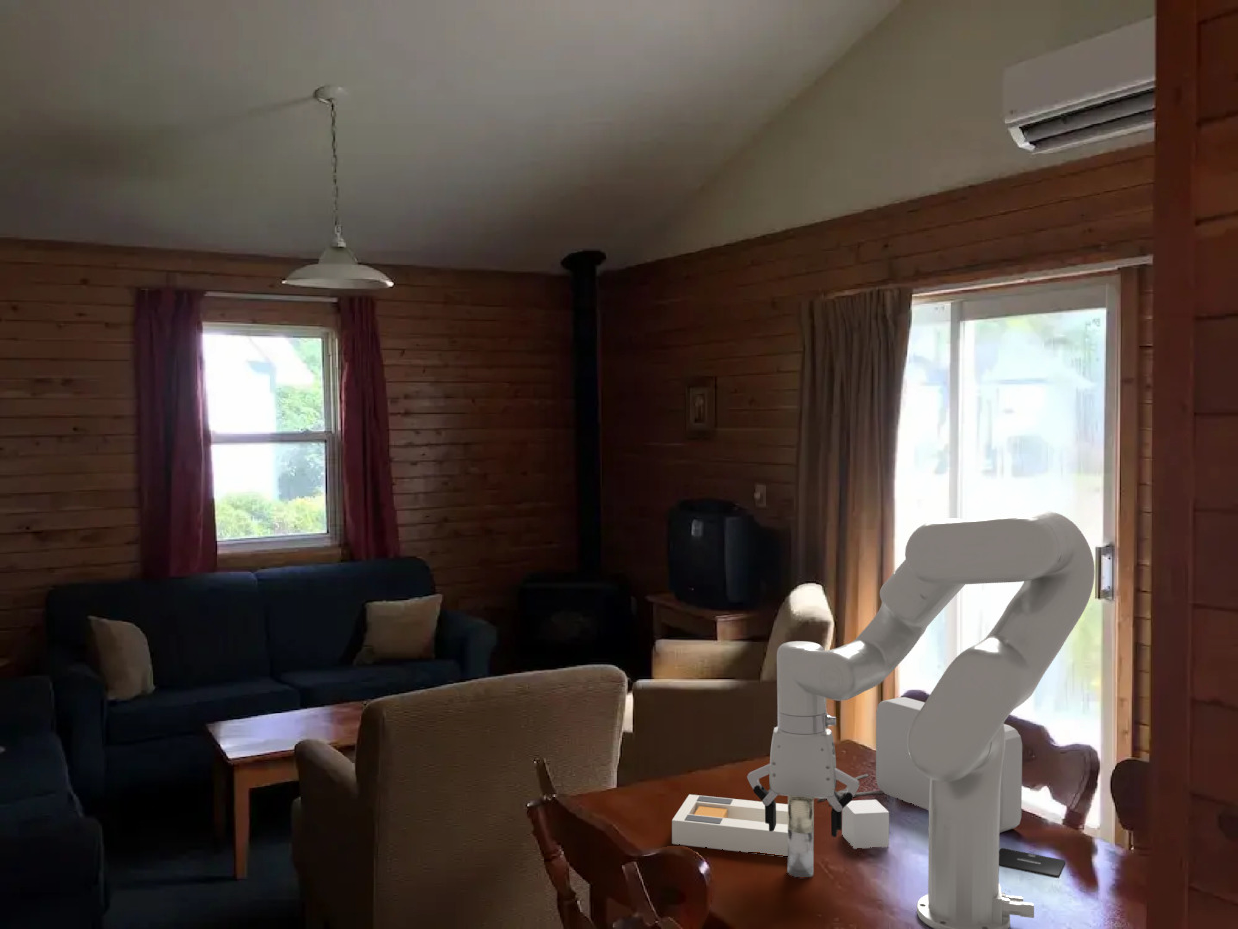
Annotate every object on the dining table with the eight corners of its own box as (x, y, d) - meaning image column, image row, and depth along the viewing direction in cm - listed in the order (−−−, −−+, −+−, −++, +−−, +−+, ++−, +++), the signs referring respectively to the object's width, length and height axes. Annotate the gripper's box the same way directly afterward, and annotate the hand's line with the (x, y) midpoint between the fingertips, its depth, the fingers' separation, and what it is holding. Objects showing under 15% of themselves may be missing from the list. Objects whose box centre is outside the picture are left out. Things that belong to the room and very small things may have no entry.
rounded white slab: (1030, 829, 183) (1031, 726, 182) (1002, 839, 178) (1003, 733, 178) (902, 783, 207) (903, 692, 206) (875, 790, 202) (875, 698, 202)
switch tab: (727, 822, 183) (727, 809, 183) (721, 834, 178) (721, 820, 178) (699, 819, 184) (699, 806, 184) (692, 830, 179) (692, 816, 179)
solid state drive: (1000, 851, 174) (1000, 847, 174) (1065, 864, 169) (1065, 860, 169) (991, 866, 168) (991, 862, 168) (1058, 880, 163) (1058, 876, 163)
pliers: (907, 782, 206) (863, 811, 190) (907, 786, 206) (863, 816, 190) (861, 772, 212) (815, 799, 196) (861, 776, 212) (815, 804, 196)
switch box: (813, 829, 182) (813, 806, 182) (804, 859, 170) (804, 834, 170) (689, 816, 189) (689, 794, 188) (672, 843, 176) (672, 819, 176)
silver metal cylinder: (814, 869, 166) (815, 794, 166) (811, 879, 162) (812, 802, 162) (789, 866, 167) (789, 791, 167) (785, 876, 163) (786, 800, 163)
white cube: (854, 849, 174) (854, 813, 174) (842, 835, 180) (842, 801, 180) (889, 847, 175) (889, 812, 175) (875, 834, 181) (875, 799, 181)
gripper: (860, 719, 165) (861, 827, 165) (750, 713, 170) (752, 818, 170) (857, 732, 158) (858, 845, 158) (742, 725, 163) (744, 835, 163)
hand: (803, 831), depth 164 cm, fingers open, 9 cm apart
